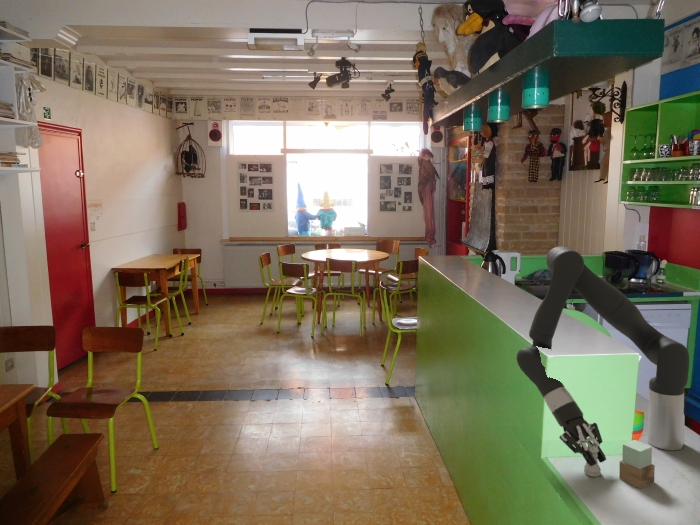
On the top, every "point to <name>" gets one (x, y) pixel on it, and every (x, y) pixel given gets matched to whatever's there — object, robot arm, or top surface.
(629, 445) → the sage top block
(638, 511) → the top surface
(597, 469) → the rook chess piece
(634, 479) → the walnut base block
